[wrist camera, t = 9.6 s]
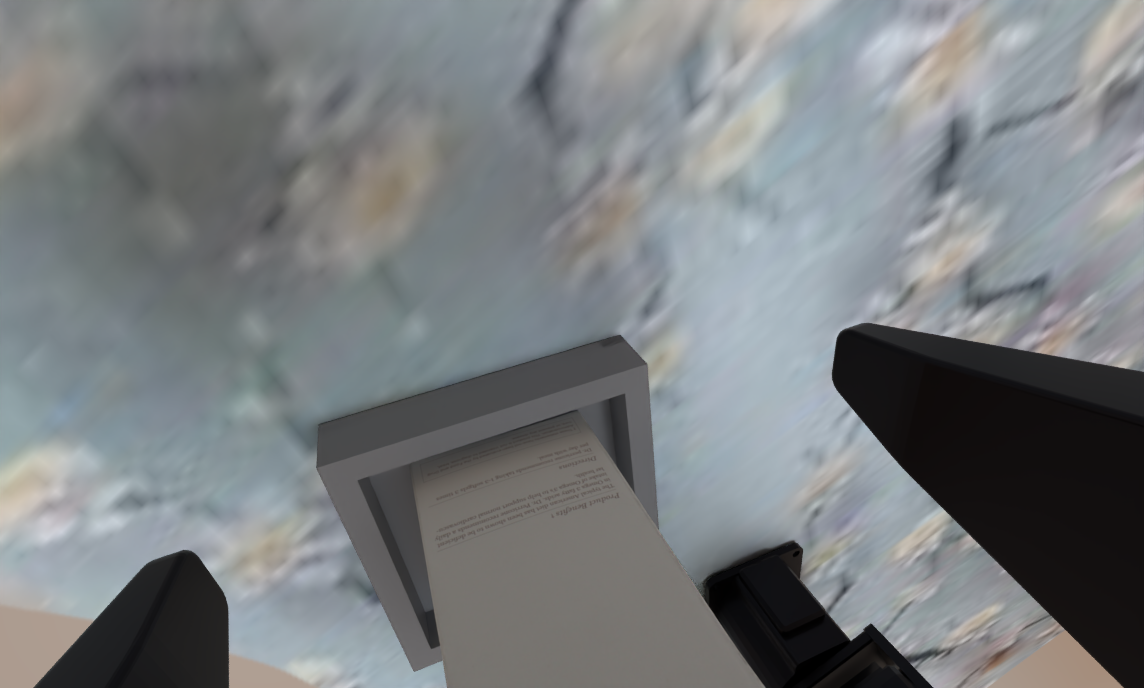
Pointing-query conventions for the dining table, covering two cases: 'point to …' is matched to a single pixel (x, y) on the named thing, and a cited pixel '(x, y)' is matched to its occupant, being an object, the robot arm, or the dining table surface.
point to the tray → (457, 418)
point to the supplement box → (559, 571)
